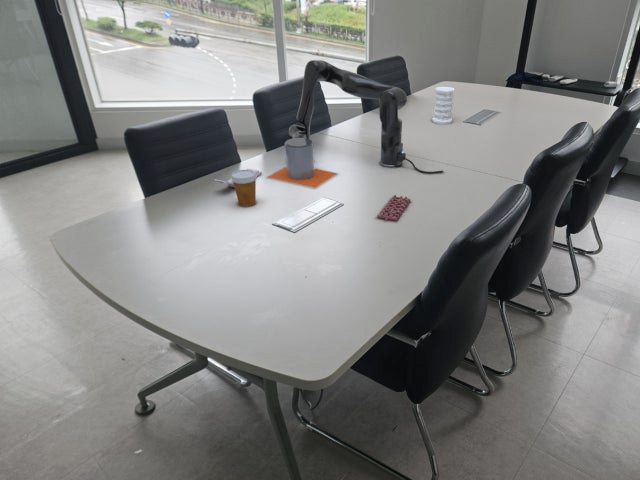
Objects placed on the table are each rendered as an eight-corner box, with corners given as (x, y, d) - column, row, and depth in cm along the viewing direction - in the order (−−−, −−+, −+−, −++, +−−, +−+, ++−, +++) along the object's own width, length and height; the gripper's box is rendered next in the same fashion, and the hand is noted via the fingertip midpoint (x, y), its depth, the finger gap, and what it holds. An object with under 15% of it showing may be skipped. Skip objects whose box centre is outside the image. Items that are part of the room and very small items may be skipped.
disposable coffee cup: (264, 200, 200) (260, 171, 193) (251, 209, 192) (247, 180, 186) (243, 196, 202) (239, 168, 196) (229, 206, 195) (225, 176, 188)
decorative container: (453, 124, 289) (456, 91, 279) (433, 123, 289) (435, 91, 279) (450, 118, 299) (454, 86, 289) (431, 118, 299) (433, 86, 289)
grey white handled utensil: (213, 179, 202) (250, 159, 221) (215, 193, 205) (251, 172, 224) (225, 182, 200) (262, 161, 219) (227, 196, 203) (263, 174, 222)
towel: (337, 174, 224) (337, 173, 224) (314, 188, 210) (314, 187, 210) (292, 164, 233) (292, 163, 233) (268, 177, 219) (268, 176, 219)
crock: (320, 172, 224) (318, 140, 216) (304, 182, 215) (302, 148, 207) (297, 168, 229) (295, 135, 221) (281, 176, 220) (278, 143, 212)
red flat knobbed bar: (376, 219, 187) (376, 214, 186) (392, 199, 202) (392, 194, 201) (395, 222, 185) (395, 217, 184) (410, 201, 200) (410, 197, 199)
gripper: (284, 136, 236) (284, 148, 221) (313, 135, 237) (314, 147, 223) (286, 152, 240) (285, 165, 225) (314, 151, 241) (315, 164, 227)
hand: (300, 156), depth 224 cm, fingers closed
